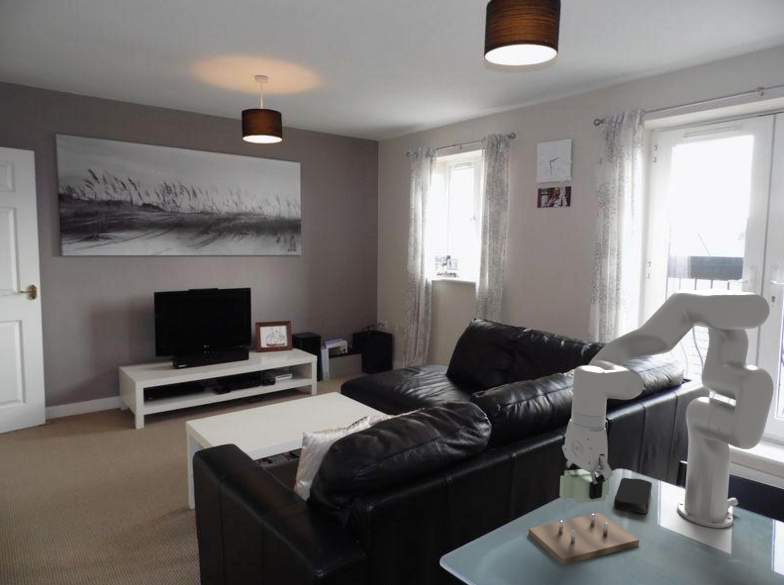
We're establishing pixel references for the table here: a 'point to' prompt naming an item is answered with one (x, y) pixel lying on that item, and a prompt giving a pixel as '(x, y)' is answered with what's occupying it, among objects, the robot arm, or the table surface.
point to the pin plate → (582, 538)
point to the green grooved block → (580, 486)
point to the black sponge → (633, 495)
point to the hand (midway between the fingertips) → (584, 489)
